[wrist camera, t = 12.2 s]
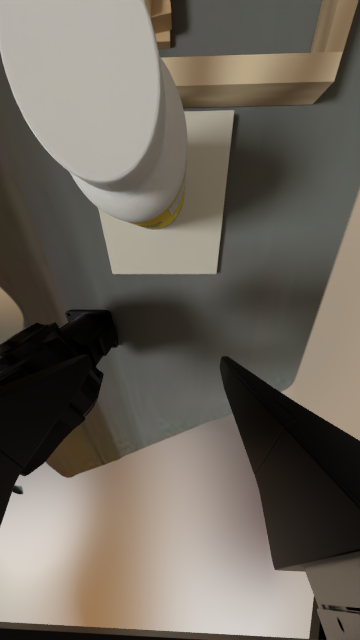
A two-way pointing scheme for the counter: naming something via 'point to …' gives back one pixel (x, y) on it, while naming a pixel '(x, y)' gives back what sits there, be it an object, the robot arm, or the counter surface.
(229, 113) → the pale grey mat
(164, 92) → the pill bottle
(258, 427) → the robot arm
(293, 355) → the counter surface
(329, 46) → the birch rack
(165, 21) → the offcut stack
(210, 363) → the counter surface
